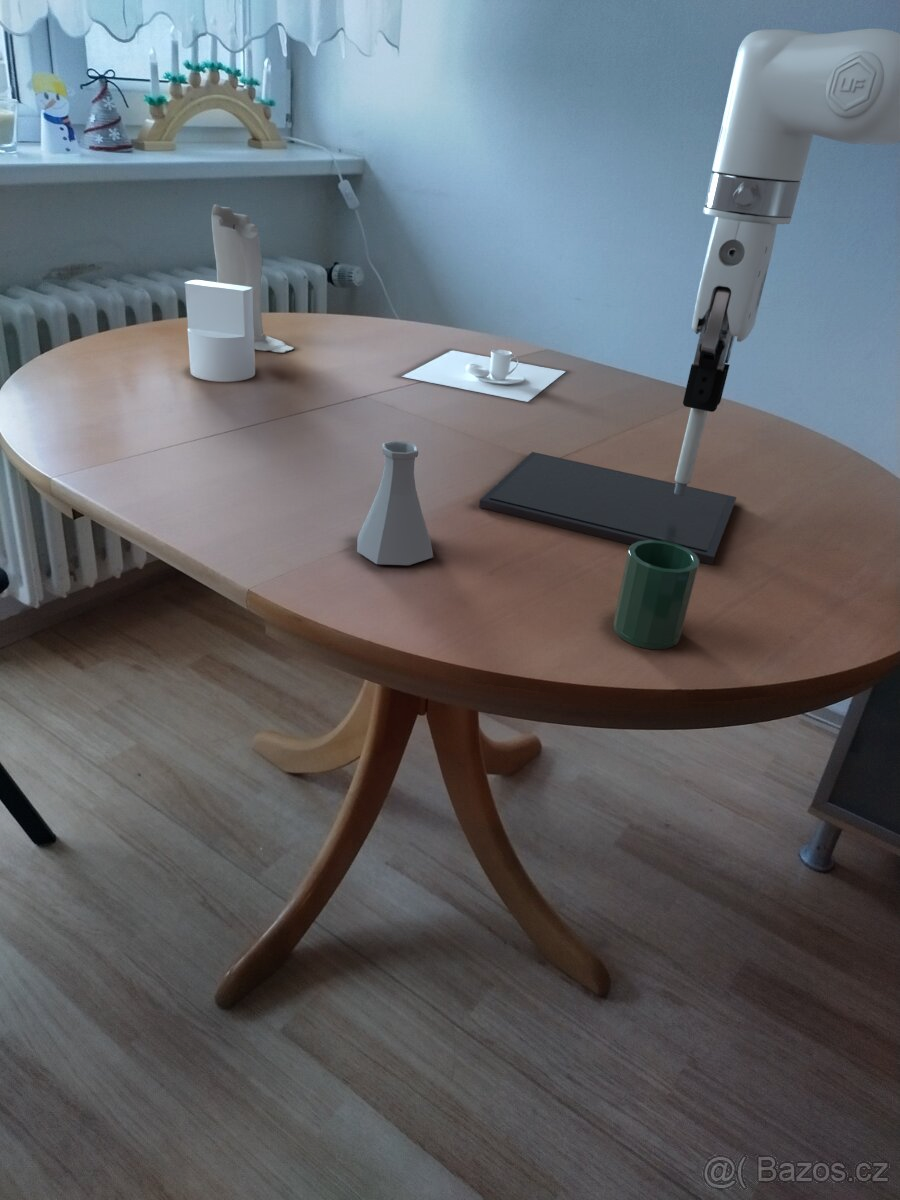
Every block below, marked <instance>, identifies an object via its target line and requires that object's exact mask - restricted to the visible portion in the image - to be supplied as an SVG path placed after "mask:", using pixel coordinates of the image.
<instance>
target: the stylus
mask: <svg viewBox="0 0 900 1200" xmlns="http://www.w3.org/2000/svg"><path fill="white" fill-rule="evenodd" d="M708 412H709V411H705V410H700V409H695V408H690V411H689V417H688V420H687V424H686V428H685V433H684V437H683V441H682V445H681V450H680V454H679V458H678V463H677V467H676V472H675V476H674V481H675V484H676V486H675V490H674V493H675V494H676V495H680V496H683V495H685V491H686V487H687V486H688V484H691V480H692V477H693V473H694V469H695V465H696V461H697V457H698V452H699V448H700V444H701V440H702V436H703V431H704V428H705V425H706V424H705V423H706V419H707V415H708Z"/></svg>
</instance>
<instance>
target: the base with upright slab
mask: <svg viewBox="0 0 900 1200" xmlns="http://www.w3.org/2000/svg"><path fill="white" fill-rule="evenodd" d="M184 290H185V305H186V318H187V341H188V354H189V356H188V357H189V368H190V369H189V371H190V374H191V376H193V377H194V378H197V379H201V380H204V381H210V382H221V383H223V382H224V383H225V382H227V383H229V382H240V381H245V380H249V379H251V378H254V376H255V375H256V355H255V349H254V326H253V295H252V287H248V286H240V285H232V284H225V283H217V281H216V282H215V281H208V280H201V279H191V280H188V281H185V282H184Z"/></svg>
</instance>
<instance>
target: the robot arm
mask: <svg viewBox="0 0 900 1200" xmlns="http://www.w3.org/2000/svg"><path fill="white" fill-rule="evenodd" d="M814 136H817V137H822V138H824V139H829V140H833V141H836V142H840V143H845V144H852V145H863V146H864V145H871V146H890V145H895V144H898V143H900V33H899V32H897V31H895V30H891V29H886V28H875V27H874V28H864V29H853V30H845V31H837V32H830V33H816V32H812V31H805V30H798V29H797V30H796V29H780V28H768V29H767V28H766V29H758V30H755V31H752V32H750V33H749V34H748V35H746V36H745V37H744V38H743V39H742V41H741V43H740V45H739V47H738V49H737V53H736V57H735V60H734V65H733V70H732V75H731V79H730V85H729V89H728V93H727V99H726V102H725V106H724V113H723V116H722V121H721V126H720V131H719V134H718V139H717V144H716V149H715V154H714V159H713V162H712V168H711V171H712V172H711V173H710V178H709V182H708V187H707V192H706V197H705V200H704V206H703V209H702V214H704V215H707V216H711V217H714V219H713V223H712V229H711V231H710V235H709V241H708V244H707V249H706V252H705V258H704V262H703V266H702V270H701V271H702V272H701V276H700V280H699V286H698V289H697V295H696V301H695V304H694V305H695V306H694V310H693V316H692V322H691V330H692V331H693V332H694V334H696V335H699V336H698V342H697V345H696V350H695V354H694V359H693V363H692V364H691V365H690V370H689V373H688V378H687V383H686V387H685V392H684V397H683V401H682V405H683V406H684V407H686V408H690V409H691V408H695V409H700V410H705V411H708V412H709V413H713V412H715V411H716V410H717V409H718V406H719V405H720V404H721V401H722V397H723V394H724V389H725V385H726V381H727V377H728V373H729V369H730V364H729V361H730V357H731V354H732V350H733V345H734V342H735V337H737V338H736V342H738V343H741V342H743V341H744V340H746V339H747V338H748V337H749V335H750V334H751V333H752V331H753V329H754V327H755V324H756V320H757V316H758V312H759V308H760V303H761V302H760V301H761V298H762V294H763V291H764V288H765V287H764V286H765V283H766V279H767V274H768V270H769V266H770V262H771V258H772V254H773V249H774V244H775V238H776V234H777V233H776V232H777V227H778V225H790V224H791V222H792V221H791V220H792V216H793V213H794V209H795V205H796V202H797V197H798V195H799V190H800V187H801V181H802V180H803V176H804V172H805V168H806V164H807V160H808V157H809V153H810V149H811V147H812V146H811V145H812V141H813V137H814Z"/></svg>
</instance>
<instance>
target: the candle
mask: <svg viewBox="0 0 900 1200" xmlns="http://www.w3.org/2000/svg"><path fill="white" fill-rule="evenodd" d="M211 231H212V242H213V249H214V256H215V257H214V258H215V266H216V282H217V283H225V284H232V285H240V286H248V287H252V295H253V326H254V337H256V338H254V350H257V351H265V352H267V351H270V352H273V353H280V354H281V353H286V352H289V351H290V352H291V351H292V350H294V349H295V348H294V347H293V346H290V345H287V344H286V342H284V341H282V340H280V339H278V338H274V337H272V336H269V335H266V333H265V332H264V328H263V327H264V326H263V315H262V314H263V313H262V277H263V257H262V252H261V242H260V241H261V239H260V235H259V228H258V225H257V224H253V223H251V218H250V216H249V215H248V214H242V213H234V212H233V210H232V207H229V206H221V205H219V204H213V206H212V208H211ZM263 333H264V334H263ZM262 334H263V335H262ZM260 335H262V336H260ZM258 336H260V337H258Z"/></svg>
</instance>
